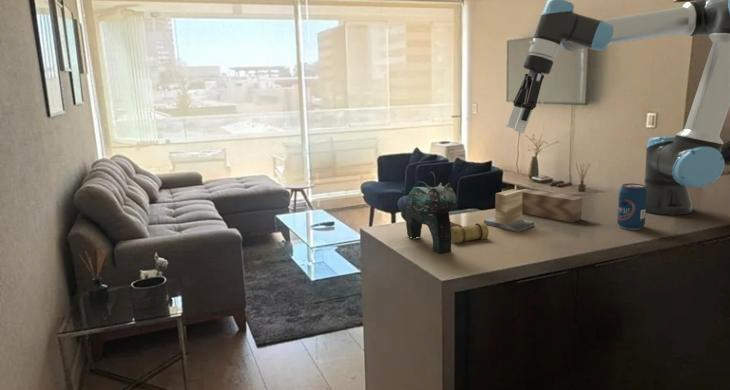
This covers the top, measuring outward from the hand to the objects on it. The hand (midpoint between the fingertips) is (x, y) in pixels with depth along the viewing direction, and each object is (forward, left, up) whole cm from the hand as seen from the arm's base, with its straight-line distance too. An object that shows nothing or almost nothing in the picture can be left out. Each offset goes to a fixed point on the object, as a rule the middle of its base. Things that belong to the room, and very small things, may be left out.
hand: (514, 129), depth 148 cm
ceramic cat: (+3, +33, -28) cm, 44 cm away
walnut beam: (-2, -14, -28) cm, 32 cm away
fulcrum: (-1, +3, -28) cm, 28 cm away
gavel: (+6, +20, -28) cm, 35 cm away
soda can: (-26, -18, -28) cm, 43 cm away
